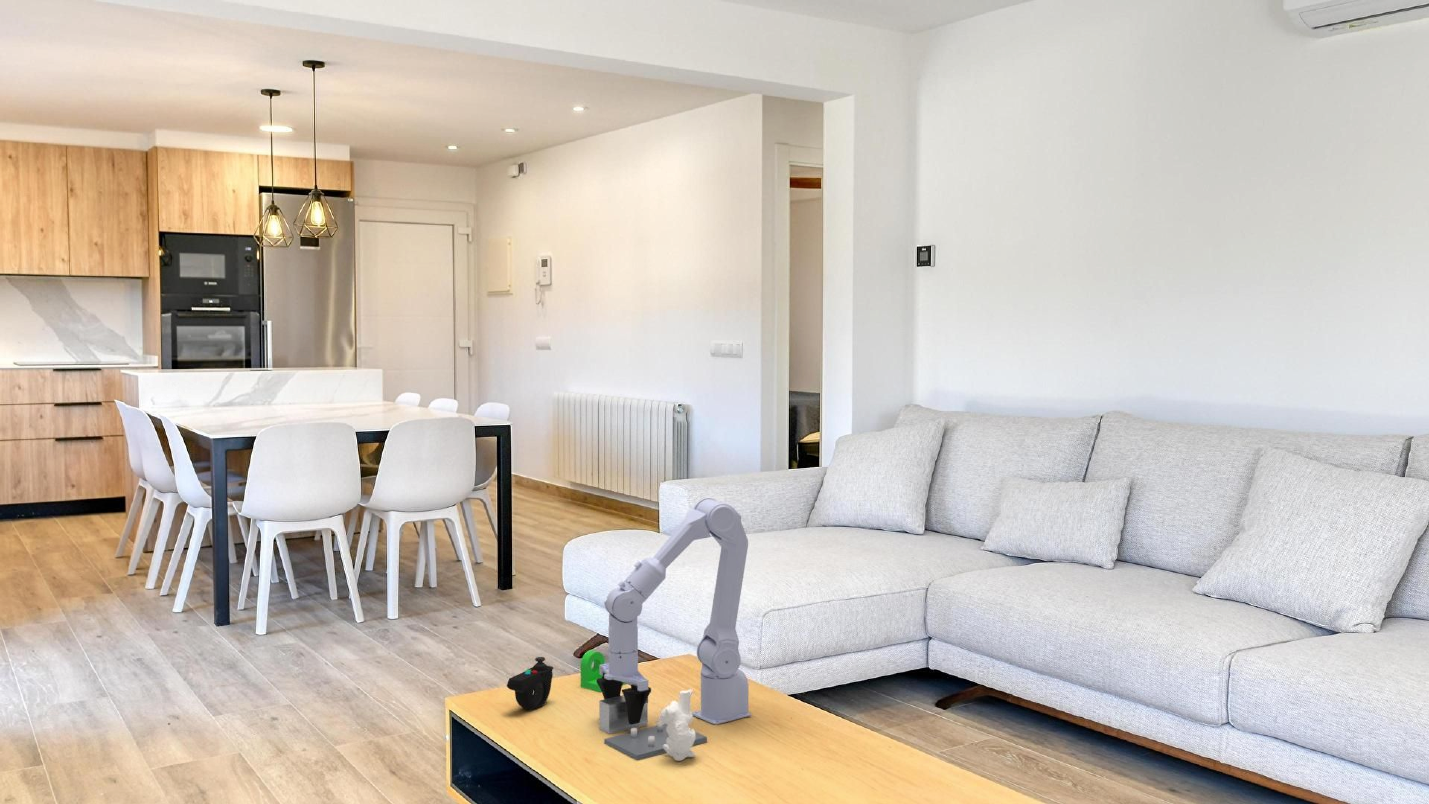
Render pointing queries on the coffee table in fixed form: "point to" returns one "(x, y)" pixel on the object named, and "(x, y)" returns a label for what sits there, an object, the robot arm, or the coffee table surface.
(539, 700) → the controller
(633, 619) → the robot arm
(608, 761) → the coffee table surface
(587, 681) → the mechanical part
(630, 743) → the pin tray
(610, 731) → the block
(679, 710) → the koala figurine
